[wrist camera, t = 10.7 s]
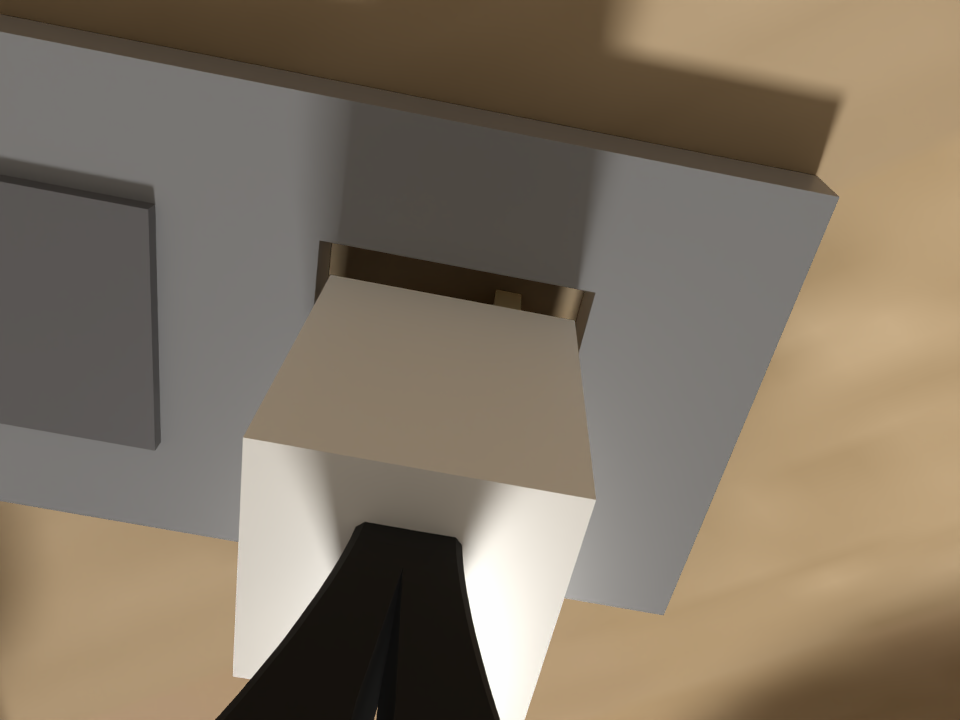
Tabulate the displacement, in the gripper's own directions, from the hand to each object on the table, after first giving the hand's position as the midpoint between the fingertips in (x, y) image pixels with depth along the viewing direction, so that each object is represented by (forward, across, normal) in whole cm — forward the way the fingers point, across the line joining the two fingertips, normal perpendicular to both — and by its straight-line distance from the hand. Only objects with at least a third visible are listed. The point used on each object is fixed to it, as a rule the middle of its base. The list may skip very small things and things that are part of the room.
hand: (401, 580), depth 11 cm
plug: (+6, 0, 0) cm, 7 cm away
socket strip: (+6, +4, 0) cm, 8 cm away
